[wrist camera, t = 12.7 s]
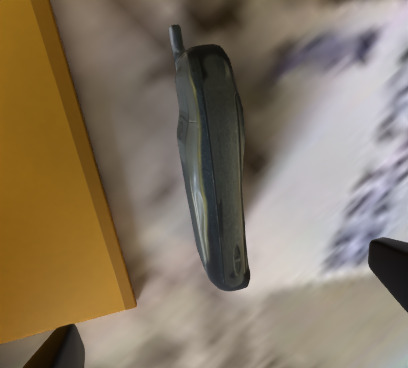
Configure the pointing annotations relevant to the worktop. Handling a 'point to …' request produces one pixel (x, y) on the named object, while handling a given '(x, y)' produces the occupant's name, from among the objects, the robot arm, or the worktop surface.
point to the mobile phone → (212, 158)
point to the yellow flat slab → (49, 188)
